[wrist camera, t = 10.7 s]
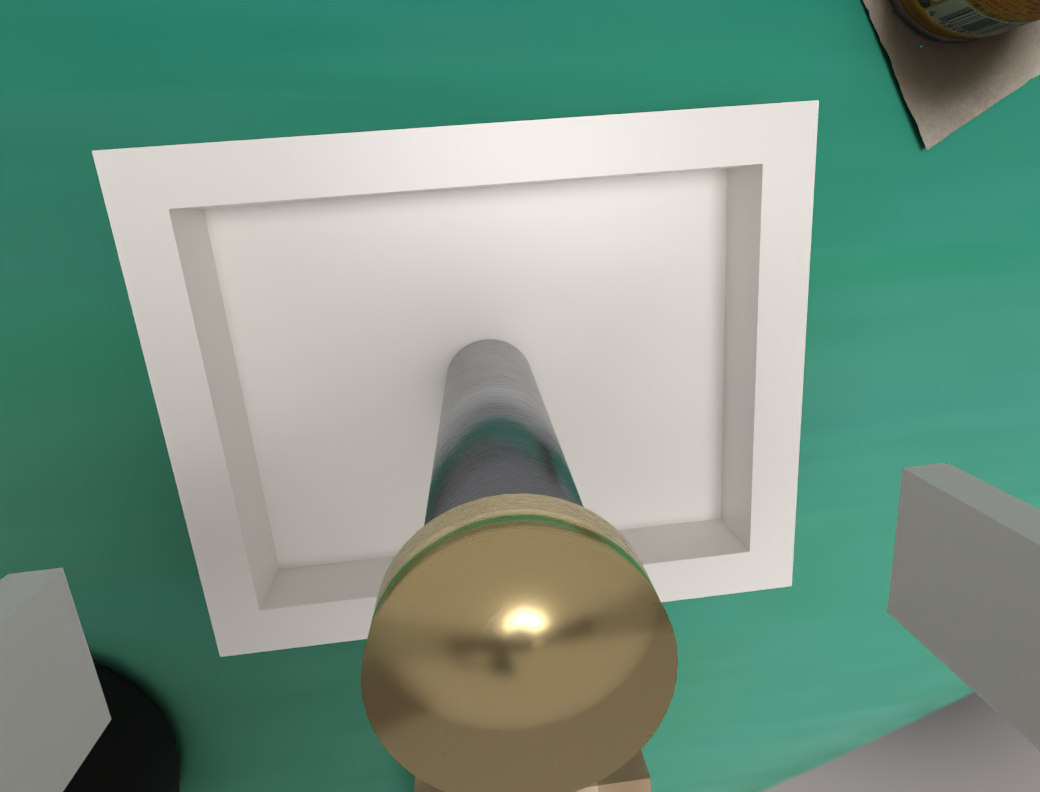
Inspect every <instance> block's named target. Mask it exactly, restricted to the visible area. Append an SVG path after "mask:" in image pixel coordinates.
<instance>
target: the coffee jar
mask: <svg viewBox="0 0 1040 792" xmlns="http://www.w3.org/2000/svg"><path fill="white" fill-rule="evenodd" d="M94 666H95V669H96V673H97V676H98V679H99V682H100V685H101V688H102V691H103V694H104V697H105V701H106V704H107V707H108V710H109V713H110V716H111V721H110V722H109V724H108V725H107V727H106V728H105V730H104V731H103V733H102V734H101V736H100V737H99V739H98V740H97V742H96V743H95V745H94V746H93V748H92V749H91V751H90V752H89V754H88V755H87V757H86V758H85V760H84V761H83V763H82V764H81V766H80V767H79V769H78V770H77V772H76V773H75V775H74V776H73V778H72V779H71V781H70V782H69V784H68V785H67V787H66V788H65V790H64V791H63V792H179V753H178V751H177V749H176V741H175V739H174V737H173V734H172V732H171V729H170V727H169V724H168V722H167V720H166V717H165V715H164V713H163V711H162V710H161V709H160V708H159V707H158V706H157V705H156V704H155V703H154V701H153V700H152V699H151V698H150V697H149V696H148V695H147V694H146V693H145V691H144V690H143V689H142V688H141V687H139V686H138V685H136V684H135V683H133V682H131V681H130V680H128V679H126V678H125V677H123V676H122V675H120V674H118V673H117V672H115V671H113V670H112V669H110V668H108V667H105V666H102V665H99V664H95V663H94Z"/></svg>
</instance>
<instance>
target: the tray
mask: <svg viewBox="0 0 1040 792" xmlns="http://www.w3.org/2000/svg"><path fill="white" fill-rule="evenodd" d="M818 108H819V100H815V101H801V102H787V103H772V104H758V105H743V106H729V107H715V108H700V109H686V110H671V111H657V112H643V113H628V114H614V115H600V116H585V117H571V118H556V119H542V120H528V121H513V122H499V123H484V124H470V125H456V126H441V127H427V128H412V129H398V130H384V131H369V132H355V133H340V134H326V135H312V136H297V137H283V138H268V139H254V140H240V141H225V142H211V143H196V144H182V145H168V146H153V147H139V148H124V149H110V150H96V151H92V154H93V157H94V161H95V165H96V169H97V173H98V177H99V181H100V185H101V189H102V193H103V197H104V201H105V205H106V209H107V213H108V217H109V221H110V225H111V229H112V232H113V236H114V240H115V244H116V248H117V252H118V256H119V260H120V264H121V268H122V272H123V276H124V280H125V284H126V288H127V292H128V296H129V300H130V303H131V307H132V311H133V315H134V319H135V323H136V327H137V331H138V335H139V339H140V343H141V347H142V351H143V355H144V359H145V363H146V367H147V371H148V375H149V378H150V382H151V386H152V390H153V394H154V398H155V402H156V406H157V410H158V414H159V418H160V422H161V426H162V430H163V434H164V438H165V442H166V446H167V449H168V453H169V457H170V461H171V465H172V469H173V473H174V477H175V481H176V485H177V489H178V493H179V497H180V501H181V505H182V509H183V513H184V517H185V521H186V524H187V528H188V532H189V536H190V540H191V544H192V548H193V552H194V556H195V560H196V564H197V568H198V572H199V576H200V580H201V584H202V588H203V592H204V595H205V599H206V603H207V607H208V611H209V615H210V619H211V623H212V627H213V631H214V635H215V639H216V643H217V647H218V651H219V655H220V657H224V656H233V655H241V654H249V653H257V652H265V651H273V650H281V649H289V648H297V647H305V646H313V645H321V644H329V643H337V642H345V641H353V640H361V639H367V638H368V634H369V630H370V625H371V621H372V617H373V613H374V609H375V605H376V601H377V597H378V593H379V589H380V586H381V583H382V581H383V578H384V576H385V573H386V571H387V569H388V568H389V566H390V564H391V562H392V560H393V559H394V557H395V556H396V555H397V553H398V552H399V551H400V549H401V548H402V547H403V545H404V544H405V543H406V542H407V541H408V540H409V539H410V538H411V537H412V536H413V535H414V534H415V533H416V532H417V531H418V530H419V529H421V528H422V527H423V526H424V523H425V516H426V510H427V503H428V496H429V490H430V483H431V477H432V470H433V463H434V457H435V450H436V443H437V437H438V430H439V423H440V417H441V410H442V404H443V397H444V390H445V384H446V377H447V372H448V368H449V365H450V363H451V361H452V360H453V358H454V357H455V355H456V354H457V353H458V352H459V351H460V350H461V349H462V348H464V347H465V346H467V345H468V344H470V343H473V342H475V341H479V340H484V339H496V340H501V341H504V342H507V343H509V344H511V345H513V346H514V347H516V348H517V349H518V350H519V351H520V352H521V353H522V354H523V355H524V356H525V358H526V359H527V361H528V363H529V365H530V368H531V370H532V373H533V376H534V378H535V381H536V383H537V386H538V389H539V391H540V394H541V397H542V399H543V402H544V404H545V407H546V410H547V412H548V415H549V418H550V420H551V423H552V425H553V428H554V431H555V433H556V436H557V439H558V441H559V444H560V446H561V449H562V452H563V454H564V457H565V459H566V462H567V465H568V467H569V470H570V473H571V475H572V478H573V480H574V483H575V486H576V488H577V491H578V494H579V496H580V499H581V501H582V504H583V507H584V508H586V509H588V510H590V511H592V512H594V513H596V514H597V515H599V516H600V517H602V518H603V519H605V520H606V521H608V522H609V523H610V524H611V525H612V526H614V527H615V528H616V529H617V530H618V531H619V532H620V533H621V534H622V535H623V536H624V537H625V538H626V540H627V541H628V542H629V543H630V544H631V546H632V547H633V548H634V550H635V552H636V553H637V555H638V557H639V558H640V560H641V562H642V564H643V566H644V568H645V570H646V572H647V574H648V576H649V578H650V580H651V582H652V584H653V587H654V589H655V591H656V593H657V595H658V597H659V599H660V601H661V602H667V601H675V600H684V599H692V598H700V597H708V596H716V595H724V594H732V593H740V592H748V591H756V590H764V589H772V588H780V587H788V586H792V571H793V553H794V536H795V518H796V500H797V482H798V464H799V446H800V429H801V411H802V393H803V375H804V357H805V339H806V322H807V304H808V286H809V268H810V250H811V232H812V215H813V197H814V179H815V161H816V143H817V125H818Z"/></svg>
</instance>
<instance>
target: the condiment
mask: <svg viewBox="0 0 1040 792" xmlns="http://www.w3.org/2000/svg"><path fill="white" fill-rule="evenodd" d="M863 2H864V4H865V6H866V8H867V9H868V10H869V15H870V19H871V21H872V23H873V25H874V27H875V29H876V31H877V33H878V35H879V38H880V41H881V43H882V45H883V46H884V48H885V49H886V51H887V53H888V55H889V57H890V60H891V63H892V68H893V71H894V73H895V76H896V78H897V80H898V82H899V85H900V88H901V92H902V94H903V97H904V99H905V101H906V103H907V106H908V108H909V110H910V111H911V113H912V115H913V117H914V119H915V121H916V123H917V125H918V128H919V131H920V134H921V137H922V139H923V142H924V144H925V146H926V149H927V150H928V149H929V148H931V147H932V146H934V145H935V144H937V143H938V142H940V141H941V140H943V139H944V138H945V137H947V136H948V135H949V134H950V133H952V132H953V131H955V130H957V129H958V128H960V127H961V126H963V125H964V124H965V123H967V122H968V121H970V120H971V119H973V118H974V117H976V116H978V115H979V114H981V113H982V112H984V111H985V110H987V109H988V108H989V107H991V106H992V105H994V104H995V103H997V102H998V101H999V100H1001V99H1003V98H1004V97H1006V96H1007V95H1009V94H1011V93H1012V92H1014V91H1015V90H1017V89H1018V88H1020V87H1021V86H1023V85H1024V84H1026V83H1027V81H1028V80H1030V79H1033V78H1034V77H1036V76H1038V75H1039V74H1040V0H863ZM921 44H922V45H923V47H922V49H921V48H920V45H921Z"/></svg>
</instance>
